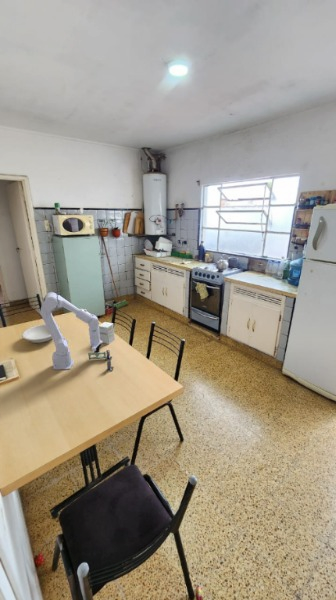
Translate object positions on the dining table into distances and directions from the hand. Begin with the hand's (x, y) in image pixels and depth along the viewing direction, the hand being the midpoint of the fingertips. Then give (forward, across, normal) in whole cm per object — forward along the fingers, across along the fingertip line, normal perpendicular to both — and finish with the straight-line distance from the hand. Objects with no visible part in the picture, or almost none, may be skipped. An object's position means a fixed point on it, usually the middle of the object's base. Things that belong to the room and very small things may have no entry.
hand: (97, 355), depth 152 cm
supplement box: (+3, +21, -4) cm, 22 cm away
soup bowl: (+3, +30, +42) cm, 51 cm away
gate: (+2, -1, 0) cm, 2 cm away
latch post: (+2, -12, -8) cm, 15 cm away
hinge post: (+2, -1, -7) cm, 7 cm away
